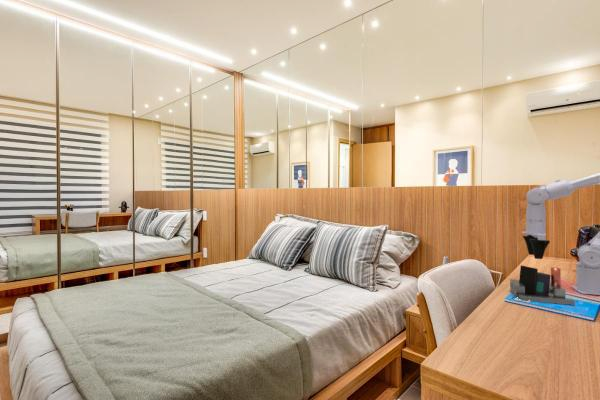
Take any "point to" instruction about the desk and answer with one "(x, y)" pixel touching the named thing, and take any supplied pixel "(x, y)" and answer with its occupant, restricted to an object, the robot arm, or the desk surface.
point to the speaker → (534, 281)
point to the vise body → (519, 292)
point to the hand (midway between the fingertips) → (535, 256)
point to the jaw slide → (556, 284)
